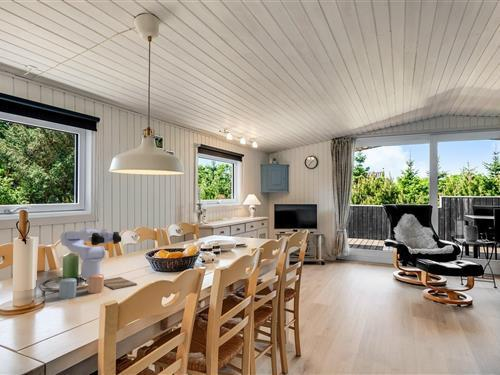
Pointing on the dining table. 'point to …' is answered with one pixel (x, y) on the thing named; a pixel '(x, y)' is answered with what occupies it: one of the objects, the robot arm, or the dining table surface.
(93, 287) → the terracotta cup
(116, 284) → the walnut board
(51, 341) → the dining table surface
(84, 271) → the robot arm
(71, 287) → the slate blue cup
